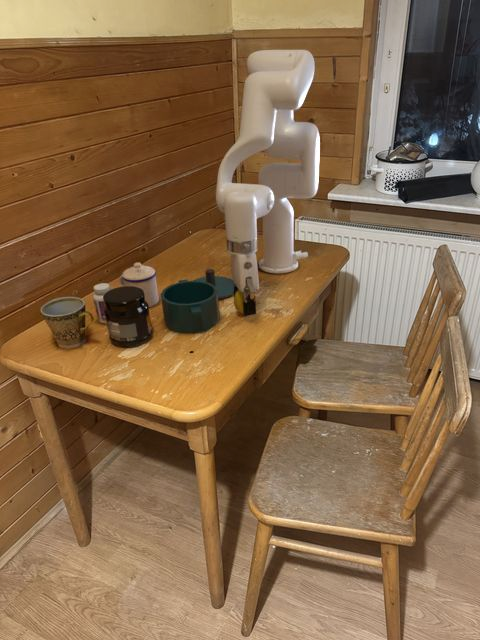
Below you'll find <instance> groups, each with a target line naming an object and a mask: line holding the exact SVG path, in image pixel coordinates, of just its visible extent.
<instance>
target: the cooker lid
mask: <svg viewBox="0 0 480 640" xmlns="http://www.w3.org/2000/svg"><path fill="white" fill-rule="evenodd" d="M204 273H205V276H203V277H202V276H201V277H198V278H195V279H193V280H192V281H203V282H208V283H210V284H212V285H214V286H215V287H216V289H217V291H218V300H221V299H225V298H228V297H230V296H232V295H234V287H235V286H234V284H233V279H232V278H230V277H226V276H221V275H216V273H215V269H214V268H207V269H205V272H204Z"/></svg>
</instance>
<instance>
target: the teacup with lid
mask: <svg viewBox="0 0 480 640" xmlns="http://www.w3.org/2000/svg"><path fill="white" fill-rule="evenodd" d="M156 274H157V272H156V270H155V268H153V267H151V266H148V265H144V264H142V263H141V262H134V263H133V266H131V267H129V268H127V269H125V270H124V271H123V272H122V273H121V275H120V276H119V277H118V278H119V279H118V282H119V285H120V287H123V286H135V287H139V288H141V289H142V290H143V291H144V294H145V300H146V301H147V303H148V306H149V308H152V307H154V306H156V305H157V304H158V303H159V301H160V296H159V290H158V283H157V276H156Z"/></svg>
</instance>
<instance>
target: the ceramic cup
mask: <svg viewBox="0 0 480 640" xmlns="http://www.w3.org/2000/svg"><path fill="white" fill-rule="evenodd" d="M40 313H41V315H42V317H43V319H44V322H45V323H46V325H47V326H48V328H49V329H50V331H51V333H52V336H53V337H54V339H55V342H56V343H57V345H58V347H59V348H62V349H67V350H71V349H75V348H79V347H81V346H82V345H84V344H85V343H86V342H87V332H86V331H87V328H88V327H89V326H90V325H92V324H93V322H94V320H95V319H94V316H93V314H92V313H91V312H90V311H86V301H85V300H84V299H83V298H81V297H78V296H63V297H57V298H55V299H52V300H49V301H47V302H46V303H44V304H43V305H42V306H41V308H40ZM86 316H88V317H89V318H90V322H89V323H87V324H86V318H87V317H86Z"/></svg>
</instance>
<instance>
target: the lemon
mask: <svg viewBox="0 0 480 640" xmlns="http://www.w3.org/2000/svg"><path fill="white" fill-rule="evenodd" d="M247 289H248V288H244V290H247ZM248 295H249V292H248V293H246V296H248ZM243 301H244V297H243V293H242V292H240V291H239V290H238V291H237V292H236V294H235V298H234V297H233V303H234V307H235V310H237V312H239V313H240V314H243V315H244V312H243Z"/></svg>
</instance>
